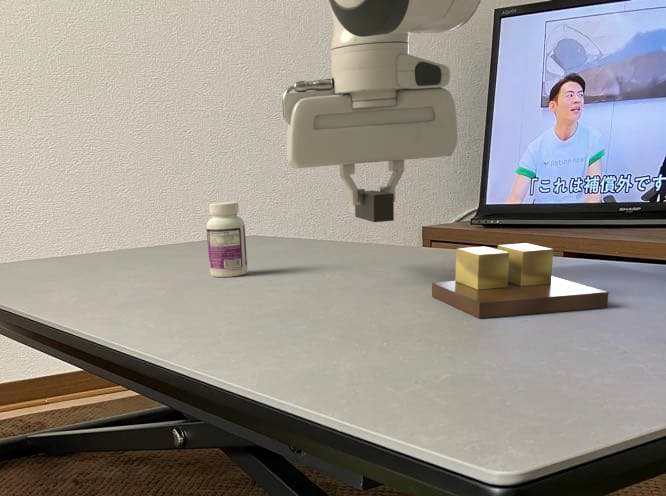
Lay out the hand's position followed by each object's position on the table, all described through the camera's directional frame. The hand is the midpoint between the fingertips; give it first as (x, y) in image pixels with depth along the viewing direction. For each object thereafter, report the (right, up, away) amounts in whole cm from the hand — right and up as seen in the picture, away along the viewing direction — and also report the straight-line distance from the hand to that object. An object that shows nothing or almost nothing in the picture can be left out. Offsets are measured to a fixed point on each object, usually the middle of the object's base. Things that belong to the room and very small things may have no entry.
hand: (372, 203), depth 109 cm
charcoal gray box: (0, 0, +5) cm, 5 cm away
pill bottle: (-18, -3, +19) cm, 26 cm away
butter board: (+13, -16, -15) cm, 25 cm away
